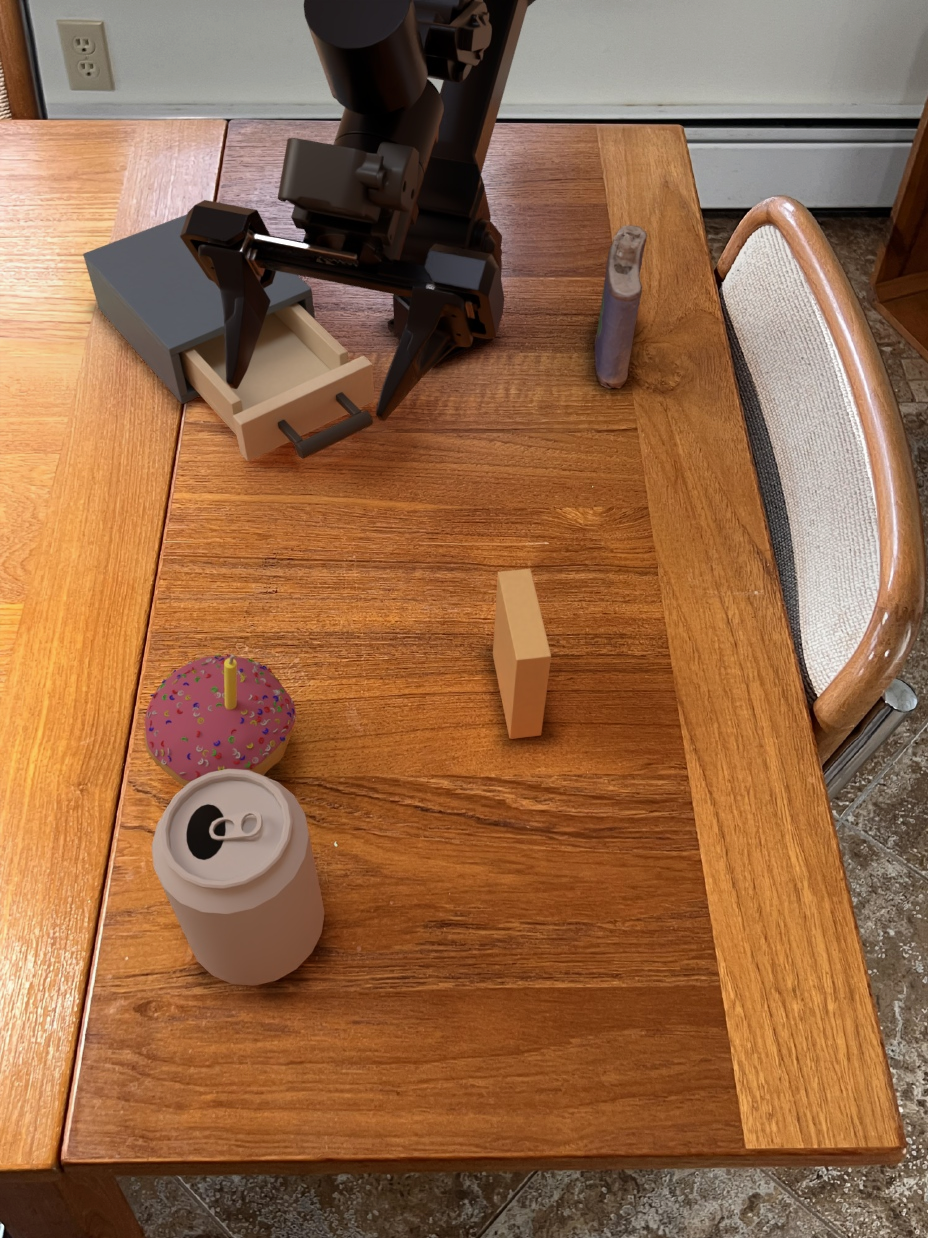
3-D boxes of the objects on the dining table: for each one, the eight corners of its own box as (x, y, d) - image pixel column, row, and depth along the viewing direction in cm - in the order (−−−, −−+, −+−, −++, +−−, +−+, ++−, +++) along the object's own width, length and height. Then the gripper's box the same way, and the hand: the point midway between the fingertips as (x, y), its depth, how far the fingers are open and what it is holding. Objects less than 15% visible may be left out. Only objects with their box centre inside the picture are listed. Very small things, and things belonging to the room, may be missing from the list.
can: (193, 866, 66) (150, 759, 56) (325, 857, 66) (305, 749, 57) (185, 997, 61) (137, 904, 52) (326, 986, 62) (305, 892, 52)
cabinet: (318, 343, 94) (312, 288, 89) (181, 404, 89) (168, 349, 85) (229, 256, 100) (219, 201, 96) (98, 308, 96) (82, 253, 91)
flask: (626, 391, 91) (645, 276, 82) (589, 387, 91) (603, 271, 82) (633, 318, 96) (651, 202, 88) (598, 314, 96) (612, 199, 88)
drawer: (403, 428, 86) (402, 391, 83) (275, 492, 82) (268, 455, 79) (283, 311, 95) (278, 273, 92) (161, 363, 90) (151, 325, 88)
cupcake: (323, 724, 72) (305, 605, 62) (265, 842, 67) (235, 733, 57) (198, 685, 73) (162, 564, 64) (133, 798, 68) (82, 684, 59)
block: (492, 654, 75) (497, 571, 68) (522, 651, 75) (530, 567, 68) (509, 739, 71) (516, 660, 64) (541, 735, 71) (551, 656, 64)
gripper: (189, 48, 63) (100, 306, 60) (518, 103, 60) (440, 377, 57) (249, 166, 74) (176, 390, 71) (531, 218, 71) (465, 454, 68)
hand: (305, 401), depth 67 cm, fingers open, 9 cm apart
